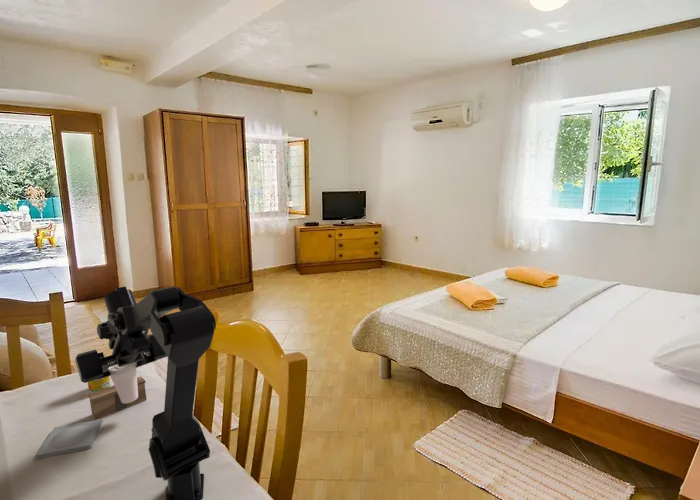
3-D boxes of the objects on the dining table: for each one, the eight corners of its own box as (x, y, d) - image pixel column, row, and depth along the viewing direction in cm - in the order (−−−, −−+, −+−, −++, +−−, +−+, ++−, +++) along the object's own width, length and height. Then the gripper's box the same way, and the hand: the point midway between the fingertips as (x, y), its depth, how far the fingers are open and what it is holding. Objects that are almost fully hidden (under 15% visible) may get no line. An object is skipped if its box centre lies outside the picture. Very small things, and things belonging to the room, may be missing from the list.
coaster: (90, 448, 88) (90, 444, 88) (37, 458, 85) (36, 454, 85) (103, 422, 97) (102, 418, 97) (55, 430, 94) (54, 426, 94)
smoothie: (111, 409, 94) (98, 356, 91) (118, 394, 100) (106, 344, 97) (141, 403, 96) (129, 351, 93) (146, 388, 102) (135, 339, 99)
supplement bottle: (90, 386, 114) (86, 354, 112) (112, 382, 116) (108, 351, 114) (87, 395, 109) (82, 362, 107) (110, 391, 111) (105, 358, 109)
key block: (147, 399, 107) (145, 380, 105) (94, 420, 98) (91, 399, 97) (143, 395, 109) (140, 376, 108) (90, 414, 100) (87, 394, 99)
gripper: (161, 300, 97) (150, 331, 107) (70, 320, 84) (67, 354, 94) (177, 339, 93) (164, 368, 103) (84, 367, 80) (79, 397, 90)
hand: (121, 370), depth 97 cm, fingers closed on smoothie, 6 cm apart
